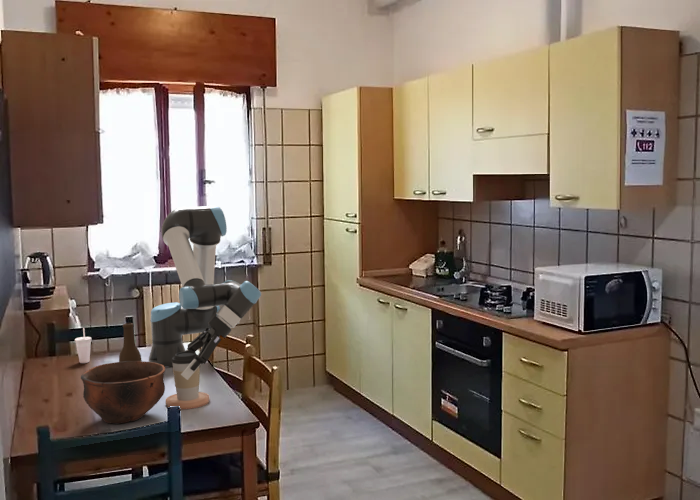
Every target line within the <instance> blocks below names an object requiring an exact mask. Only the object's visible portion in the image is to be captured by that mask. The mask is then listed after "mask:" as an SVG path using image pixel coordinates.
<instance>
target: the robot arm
mask: <svg viewBox="0 0 700 500" xmlns="http://www.w3.org/2000/svg"><path fill="white" fill-rule="evenodd" d="M227 232H228V231H227V221H226V217H225V214H224V211H223V210H222V208H221V207H220V206H217V205H205V206H204V205H203V206H202V205H201V206H188V207H186V206H182V207H178V208H175V209H173V210H171V212H169V213H168V214H167V215H166V216H165V218H164V220H163V223H162V225H161V237H162V240H163V243H164V244H165V245H166V246H168V249H169V251H170V255H171V257H172V261H173V263H174V266H175V269H176V272H177V275H178V278H179V281H180V283H181V284H180V285H181V286H182V287H180V288H179V292H178V300H179V302H177V301H175V302H167V303H162V304H159V305H157V306H154V307H152V309H151V311H150V327H151V328H150V329H151V343H152V345H151V349H150V352H149V356H148V362H155V363H158V364H161V365H164V367H165V368H173V363H172V358H173V357H174V356H175V354H177V353H180V352H184V351H187V350H192V351H193V352H195V353H196V352H197V351H198V350H199V351H198V354H197V355H198V356H196V357H194V358H195V359H194V360H193V361H192V362H191V363H190V364H189V366H188V367H187V368H186V369H185V370H184V371H183V372H182V374H181V375H182V376H183V377H184V378H185V379H187V380H188V379H189V378H190V377H191V376H192V374H193V373H194V372H195V371H196V370H197V369H198V367H199V366H200V367H201V365H205V364H206V363H207V362H208V360H209V358H210V357H211V355H212V354H213V352H214V351H215V349H216V347H217V346H218V345H219V344H220V342H221V341H222V338H220V336H221V337H223V338H227V336H229V334H230V333H231V331H232V328H233V329H234V328H235V327H236V325H239V324H240V323H241V322H240V321H241V320H242V319H243V318H244V317H245V316H246V314H247V313H248V312H249V311H250V310H251V309H252V308H253V306H254V305H255V304H257V302H258V301H259V299H260V298H261V296H262V291H260V290H259V289H258V287H257V286H256V285H254V284H253V283H251V281H248V280H244V281H243V282H242V283H240V282H238V281H235V280H233V279H232V280H231V279H230V280H229V279H227V280H225V281H223V282H222V283H214V281H215V266H216V253H217V252H216V250H217V246H218V245H219V244H220V243H221V237H225V236H226V234H227ZM190 242H191V243H192V244H191V243H190ZM192 245H193V247H192ZM194 334H198V335H197V336H196V337H195V338H193V340H192V341H191V342H189V343H188V344H187V348H185V345H184V343H183V336H185V335H186V336H187V335H194Z"/></svg>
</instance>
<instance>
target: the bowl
mask: <svg viewBox="0 0 700 500" xmlns="http://www.w3.org/2000/svg"><path fill="white" fill-rule="evenodd" d="M165 372H166V367H164V365H161V364H158V363H155V362H149V361H143V360H142V361H124V362H119V361H116V362H110V363H109V362H108V363H104V364H100V365H96V366H93V367H91V368H89V369H88V370H87V371H85V372H83V373H82V374H81V376H80V379H81V381H82V383H83V394H82V395H83V399H84V401H85V403H86V404H87V405H88V407H89V408H90V409H91V410H92V411H93V412H95V414H97V415H98V416H99V417H100V418H101V420H103V421H104V422H105V423H106V424H107V423H108V424H126V423H129V422H135V421H137V420H139V419H141V418H142V417H144V416H145V415H146V414H147V413H148V412H149V411H150V410H151V409H153V408H154V407H155V406H156V405H157V404H158V402H159V401H160V400H161V399H162V398H163V396H164V394H165V391H166V386H165V379H164V377H165Z"/></svg>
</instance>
